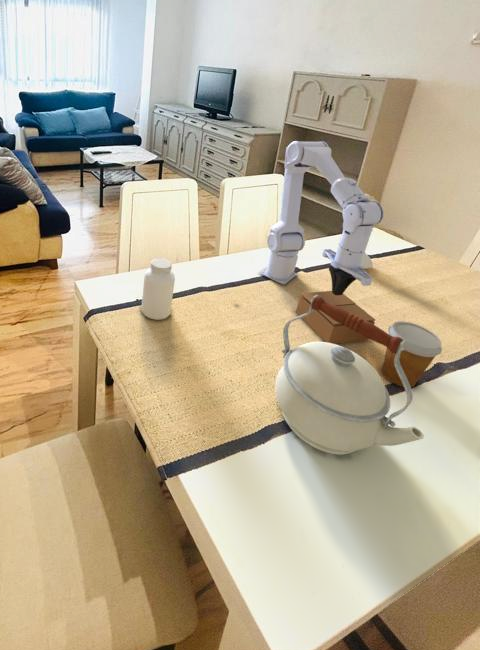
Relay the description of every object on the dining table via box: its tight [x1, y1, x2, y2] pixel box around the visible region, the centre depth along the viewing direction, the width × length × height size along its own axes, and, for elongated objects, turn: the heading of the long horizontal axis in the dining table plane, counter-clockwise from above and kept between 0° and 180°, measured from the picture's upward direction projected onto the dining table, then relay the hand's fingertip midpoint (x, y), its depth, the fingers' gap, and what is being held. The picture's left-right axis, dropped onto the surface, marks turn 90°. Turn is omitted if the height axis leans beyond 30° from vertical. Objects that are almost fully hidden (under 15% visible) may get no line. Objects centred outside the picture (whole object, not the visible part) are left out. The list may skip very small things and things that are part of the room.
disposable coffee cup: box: [381, 320, 443, 388], centre depth 85 cm, size 10×10×12 cm
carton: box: [295, 295, 376, 345], centre depth 101 cm, size 13×12×6 cm
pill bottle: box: [141, 257, 176, 321], centre depth 101 cm, size 8×8×15 cm
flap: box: [300, 290, 357, 306], centre depth 103 cm, size 6×12×1 cm, turn 102°
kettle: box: [274, 295, 425, 456], centre depth 69 cm, size 25×18×25 cm
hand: (337, 293), depth 100 cm, fingers closed
